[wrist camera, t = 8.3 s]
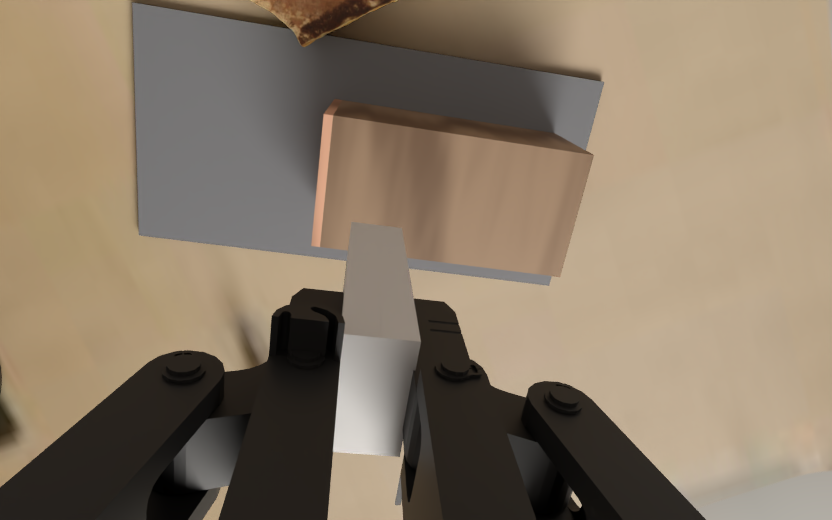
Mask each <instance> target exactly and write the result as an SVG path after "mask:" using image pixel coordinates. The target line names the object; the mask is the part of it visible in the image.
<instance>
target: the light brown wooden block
mask: <svg viewBox="0 0 832 520" xmlns="http://www.w3.org/2000/svg"><path fill="white" fill-rule="evenodd" d="M593 156H594V155H593V154H591V153H589V152H587V151H586V150H584V149H582V148H580V147H578V146H577V145H575V144H573V143H571V142H569V141H568V140H566V139H564V138H562V137H561V136H559V135H557V134H555V133H551V132H544V131H538V130H531V129H525V128H519V127H512V126H506V125H499V124H493V123H486V122H480V121H474V120H467V119H461V118H454V117H448V116H442V115H435V114H429V113H422V112H416V111H410V110H403V109H397V108H390V107H384V106H377V105H371V104H365V103H358V102H352V101H345V100H339V99H334V100H333V102H332V103H331V104H330V106H329V107H328V109H327V110H326V111H325V113H324V115H323V126H322V137H321V147H320V158H319V169H318V179H317V190H316V200H315V211H314V222H313V232H312V243H311V246H315V247H323V248H331V249H339V250H347V251H348V246H349V238H350V230H351V222H358V223H366V224H374V225H382V226H390V227H398V228H402V232H403V238H404V244H405V250H406V256H407V258H411V259H420V260H428V261H436V262H444V263H452V264H460V265H468V266H476V267H484V268H492V269H500V270H508V271H516V272H524V273H532V274H540V275H548V276H556V277H560V275H561V272H562V268H563V264H564V261H565V257H566V254H567V250H568V246H569V243H570V239H571V236H572V232H573V228H574V225H575V221H576V218H577V214H578V210H579V207H580V203H581V200H582V196H583V192H584V189H585V185H586V182H587V178H588V174H589V171H590V167H591V164H592V160H593Z"/></svg>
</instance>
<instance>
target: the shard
mask: <svg viewBox="0 0 832 520" xmlns="http://www.w3.org/2000/svg"><path fill="white" fill-rule="evenodd" d="M250 1H252V2H254V3H256V4H257V5H259V6H261V7H263V8H264V9H266V10H268V11H269V12H271V13H273V14H274V15H275V16H276V17H277V18H278V19H280V20H281V21H282V22H283V23H285V24H286V25H287V27H289V28H290V29H291V30H292V31H293V32H294V33H295V35H296V37H297V40H298V41H299V43H300V45H301V46H302V47H306V46H308V45H310V44H311V43H312V42H314V41H315V40H316V39H319V38H321V37H323V36H324V35H325V34H328V33H330V32H332V31H334V30H337V29H339V28H341V27H343V26H346V25H348V24H350V23H351V22H353V21H355V20H357V19H359V18H360V17H361V16H363V15H366V14H367V13H369V12H372V11H375V10H377V9H379V8H381V7H383V6H385V5H387V4H390V3H392V2H397V1H398V0H250Z"/></svg>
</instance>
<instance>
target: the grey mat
mask: <svg viewBox="0 0 832 520" xmlns="http://www.w3.org/2000/svg"><path fill="white" fill-rule="evenodd" d="M132 7H133V42H134V77H135V112H136V147H137V182H138V217H139V235H141V236H149V237H157V238H165V239H173V240H181V241H190V242H198V243H206V244H214V245H222V246H230V247H239V248H247V249H255V250H263V251H271V252H279V253H287V254H296V255H304V256H312V257H320V258H328V259H336V260H344V261H347V254H348V251H347V250H339V249H331V248H323V247H315V246H311V243H312V232H313V222H314V211H315V200H316V190H317V179H318V169H319V158H320V147H321V137H322V126H323V115H324V113H325V111H326V110H327V109H328V107H329V106H330V104H331V103H332V102H333V100H334V99H339V100H345V101H352V102H358V103H365V104H371V105H377V106H384V107H390V108H397V109H403V110H410V111H416V112H422V113H429V114H435V115H442V116H448V117H454V118H461V119H467V120H474V121H480V122H486V123H493V124H499V125H506V126H512V127H519V128H525V129H531V130H538V131H544V132H551V133H555V134H557V135H559V136H561V137H562V138H564V139H566V140H568V141H569V142H571V143H573V144H575V145H577V146H578V147H580V148H582V149H584V150H586V147H587V144H588V140H589V136H590V133H591V129H592V125H593V122H594V118H595V114H596V111H597V107H598V103H599V100H600V96H601V92H602V88H603V85H604V82H601V81H595V80H590V79H584V78H578V77H572V76H566V75H560V74H554V73H548V72H542V71H536V70H530V69H524V68H518V67H513V66H507V65H501V64H495V63H489V62H483V61H477V60H471V59H465V58H459V57H453V56H447V55H441V54H435V53H430V52H424V51H418V50H412V49H406V48H400V47H394V46H388V45H382V44H376V43H370V42H364V41H358V40H353V39H347V38H341V37H335V36H329V35H324V36H323V37H321V38H319V39H316V40H315V41H314V42H312V43H311V44H310V45H308V46H306V47H302V46H301V45H300V43H299V41H298V40H297V37H296V35H295V33H294V32H293V31H292V30H291V29H287V28H281V27H276V26H270V25H264V24H258V23H252V22H246V21H240V20H234V19H228V18H222V17H216V16H210V15H204V14H199V13H193V12H187V11H181V10H175V9H169V8H163V7H157V6H151V5H145V4H139V3H133V2H132ZM407 262H408V268H410V269H418V270H426V271H434V272H442V273H450V274H459V275H467V276H475V277H483V278H491V279H499V280H507V281H516V282H524V283H532V284H540V285H548V286H549V284H550V280H551V276H548V275H540V274H532V273H524V272H516V271H508V270H500V269H492V268H484V267H476V266H468V265H460V264H452V263H444V262H436V261H428V260H420V259H411V258H407Z"/></svg>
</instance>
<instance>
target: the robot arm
mask: <svg viewBox="0 0 832 520" xmlns="http://www.w3.org/2000/svg"><path fill="white" fill-rule="evenodd" d="M458 324H459V323H458V320H457V317H456V313H455V312H454V311H453V310H452V309H451V308H450V307H449V306H448V305H447V304H446V303H445V302H440V301H431V300H422V299H414V298H413V292H412V286H411V280H410V274H409V268H408V262H407V256H406V250H405V244H404V238H403V232H402V228H398V227H390V226H382V225H374V224H366V223H358V222H351V230H350V238H349V246H348V254H347V263H346V271H345V279H344V288H343V292H334V291H325V290H316V289H306V288H303V289H302V290H300V291H299V292H298V293H296V294H295V295H294V296H292V299H291V302H290V305H286V306H284V307H282V308H280V309H277V310H276V311H275V313H274V314H273V315H272V321H271V335H270V350H269V357H268V360H267V362H265V363H263V364H261V365H259V366H256V367H253V368H250V369H245V370H239V371H229V372H225V371H224V366H223V363H222V362H221V361H220V360H219V359H218V358H216V357H215V356H213V355H210V354H207V353H205V352H198V351H176V352H171V353H168V354H165V355H161V356H159V357H157V358H155V359H153V360H152V361H150V362H148V363H147V364H146V365H145V366H143V367H142V368H141V369H140V370H139V371H138V372H136V373H135V374H134V375H133V376H132V377H130V378H129V379H128V380H127V381H126V382H125V383H123V384H122V385H121V386H120V387H119V388H117V389H116V390H115V391H114V392H113V393H112V394H110V395H109V396H108V397H107V398H106V399H104V400H103V401H102V402H101V403H100V404H99V405H97V406H96V407H95V408H94V409H93V410H91V411H90V412H89V413H88V414H87V415H86V416H84V417H83V418H82V419H81V420H80V421H78V422H77V423H76V424H75V425H74V426H73V427H71V428H70V429H69V430H68V431H67V432H65V433H64V434H63V435H62V436H61V437H59V438H58V439H57V440H56V441H55V442H54V443H52V444H51V445H50V446H49V447H48V448H46V449H45V450H44V451H43V452H42V453H41V454H39V455H38V456H37V457H36V458H35V459H33V460H32V461H31V462H30V463H29V464H28V465H26V466H25V467H24V468H23V469H22V470H20V471H19V472H18V473H17V474H16V475H15V476H13V477H12V478H11V479H10V480H9V481H7V482H6V483H5V484H4V485H3V486H2V487H0V520H202V519H203V518H204V516H205V515H206V513H207V512H208V510H209V509H210V507H211V506H212V504H213V503H214V501H215V500H216V498H217V496H218V493H219V490H220V487H224V486H229V487H228V491H227V494H226V497H225V500H224V504H223V507H222V510H221V513H220V517H219V520H327V516H328V504H329V492H330V480H331V468H332V456H333V452H340V453H355V454H369V455H383V456H398V457H400V452H401V447H402V441H403V443H404V459H403V464H402V469H401V475H400V480H399V485H398V490H397V496H396V501H395V505H401V500H402V506H403V520H706V519H705V518H704V517H703V516H702V515H701V514H700V513H699V512H698V511H697V510H696V509H695V508H694V507H693V506H692V505H691V503H690V502H689V501H688V500H687V499H686V498H685V497H684V496H683V495H682V494H681V493H680V492H679V491H678V490H677V489H676V488H675V487H674V486H673V485H672V483H671V482H670V481H669V480H668V479H667V478H666V477H665V476H664V475H663V474H662V473H661V472H660V471H659V470H658V469H657V468H656V467H655V466H654V465H653V464H652V462H651V461H650V460H649V459H648V458H647V457H646V456H645V455H644V454H643V453H642V452H641V451H640V450H639V449H638V448H637V447H636V446H635V445H634V444H633V442H632V441H631V440H630V439H629V438H628V437H627V436H626V435H625V434H624V433H623V432H622V431H621V430H620V429H619V428H618V427H617V426H616V425H615V424H614V422H613V421H612V420H611V419H610V418H609V417H608V416H607V415H606V414H605V413H604V412H603V411H602V410H601V409H600V408H599V407H598V406H597V405H596V404H595V403H594V401H593V400H592V399H590V398H589V397H588V396H587V395H585V394H584V393H583V392H581V391H579V390H577V389H575V388H573V387H572V386H570V385H567V384H562V383H560V382H548V381H543V382H539V383H535V384H533V385H532V386H531V387H530V388H529V389H528V393H527V396H526V398H525V397H522V396H518V395H515V394H511V393H508V392H505V391H502V390H499V389H497V388H495V387H493V386H491V385H490V382H489V379H488V376H487V374H486V373H485V371H484V369H483V368H482V367H481V366H480V365H478V364H477V363H476V362H474V361H473V360H470V359H469V355H468V352H467V349H466V346H465V342H464V339H463V336H462V334H461V329H460V326H459V325H458ZM1 385H2V376H1V367H0V393H1ZM572 491H573V492H574V493H575V494H576V496H577V497H578V499H579V500H580V502H581V504H582V507H581V508H579V507H578V506H577V505H576V503H575V502H574V500H573V499H572V498H571V494H572Z"/></svg>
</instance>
